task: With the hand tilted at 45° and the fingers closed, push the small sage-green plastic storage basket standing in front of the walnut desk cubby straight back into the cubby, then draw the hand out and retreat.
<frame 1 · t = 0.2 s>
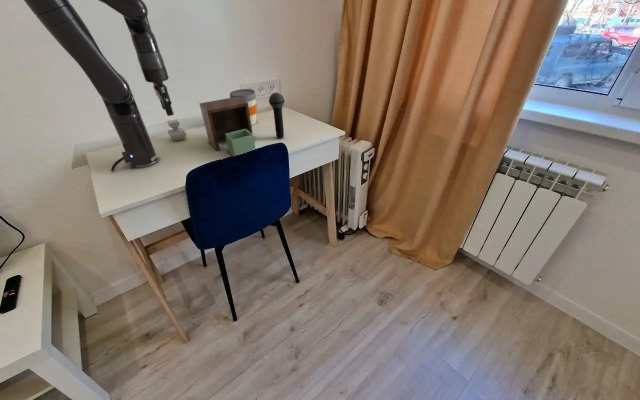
hand: (168, 112, 107), 17 cm above the table, tool pointing down, fingers open, 8 cm apart
reusable coffee cup: (247, 122, 145), on the table
cubby: (231, 141, 126), on the table
microphone: (280, 138, 129), on the table
basket: (242, 152, 117), on the table
stamp: (178, 139, 129), on the table
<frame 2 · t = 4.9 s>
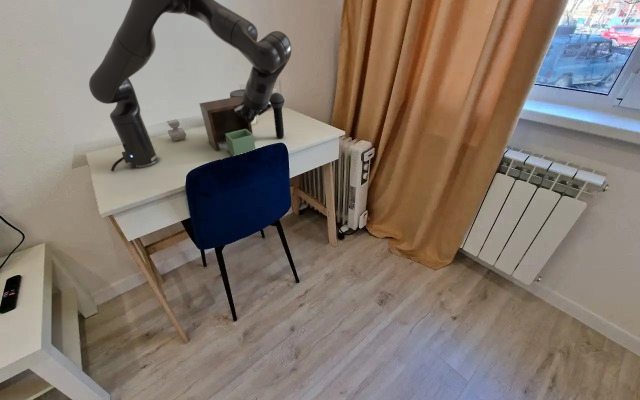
hand: (248, 120, 98), 18 cm above the table, tool tilted 45°, fingers closed
nothing on the table moved.
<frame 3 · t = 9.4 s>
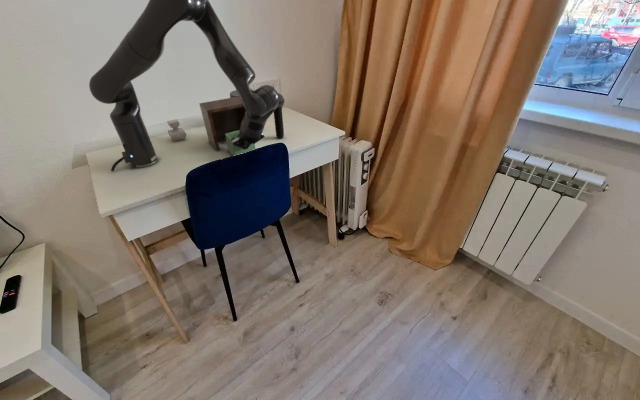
hand: (244, 147, 112), 4 cm above the table, tool tilted 45°, fingers closed
basket: (242, 152, 117), on the table, touching gripper
everything else where it was.
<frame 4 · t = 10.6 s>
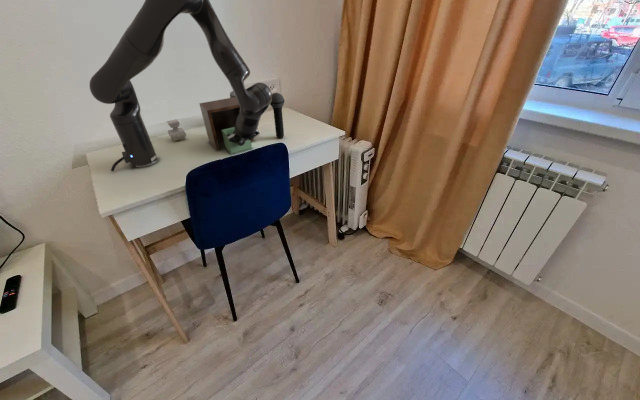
hand: (240, 143, 115), 4 cm above the table, tool tilted 45°, fingers closed
basket: (238, 148, 121), on the table
everything else where it was.
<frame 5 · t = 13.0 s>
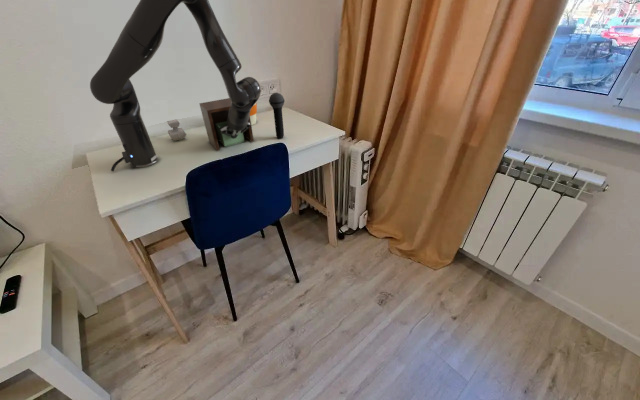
hand: (233, 136, 121), 4 cm above the table, tool tilted 45°, fingers closed
basket: (231, 141, 126), resting in cubby, touching gripper
everything else where it was.
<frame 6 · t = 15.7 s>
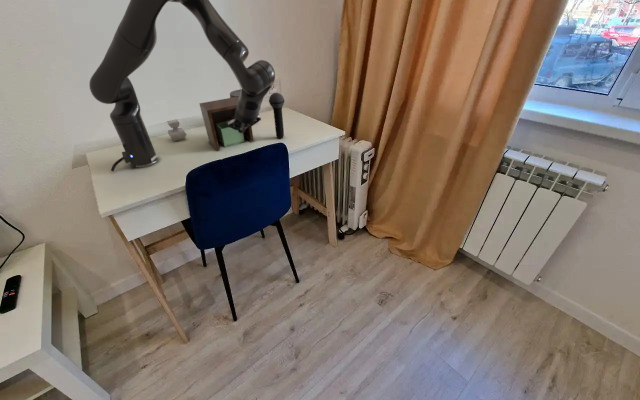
hand: (240, 130, 109), 10 cm above the table, tool tilted 45°, fingers closed
basket: (231, 141, 126), resting in cubby
everything else where it was.
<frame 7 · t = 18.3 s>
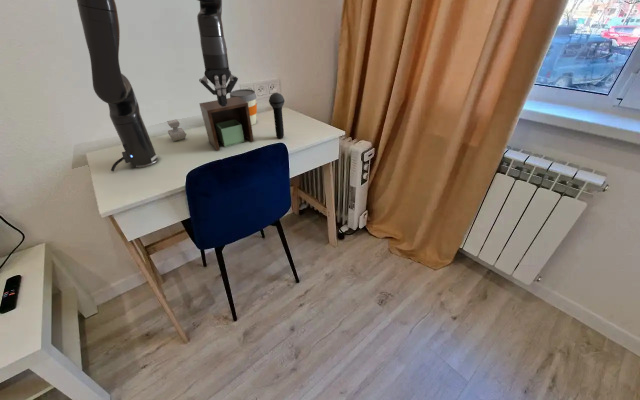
hand: (222, 105, 100), 22 cm above the table, tool pointing down, fingers closed
nothing on the table moved.
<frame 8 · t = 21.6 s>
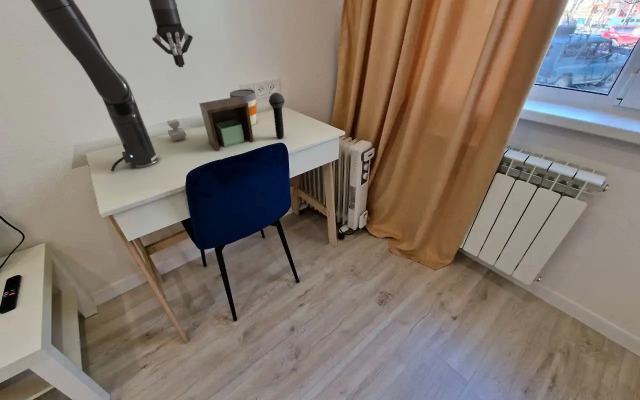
hand: (180, 66, 99), 33 cm above the table, tool pointing down, fingers closed
nothing on the table moved.
at the end: basket inside the target area on the cubby (0.9 cm from its centre), point 0.0 cm above the cubby's base; basket tilted 0° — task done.
